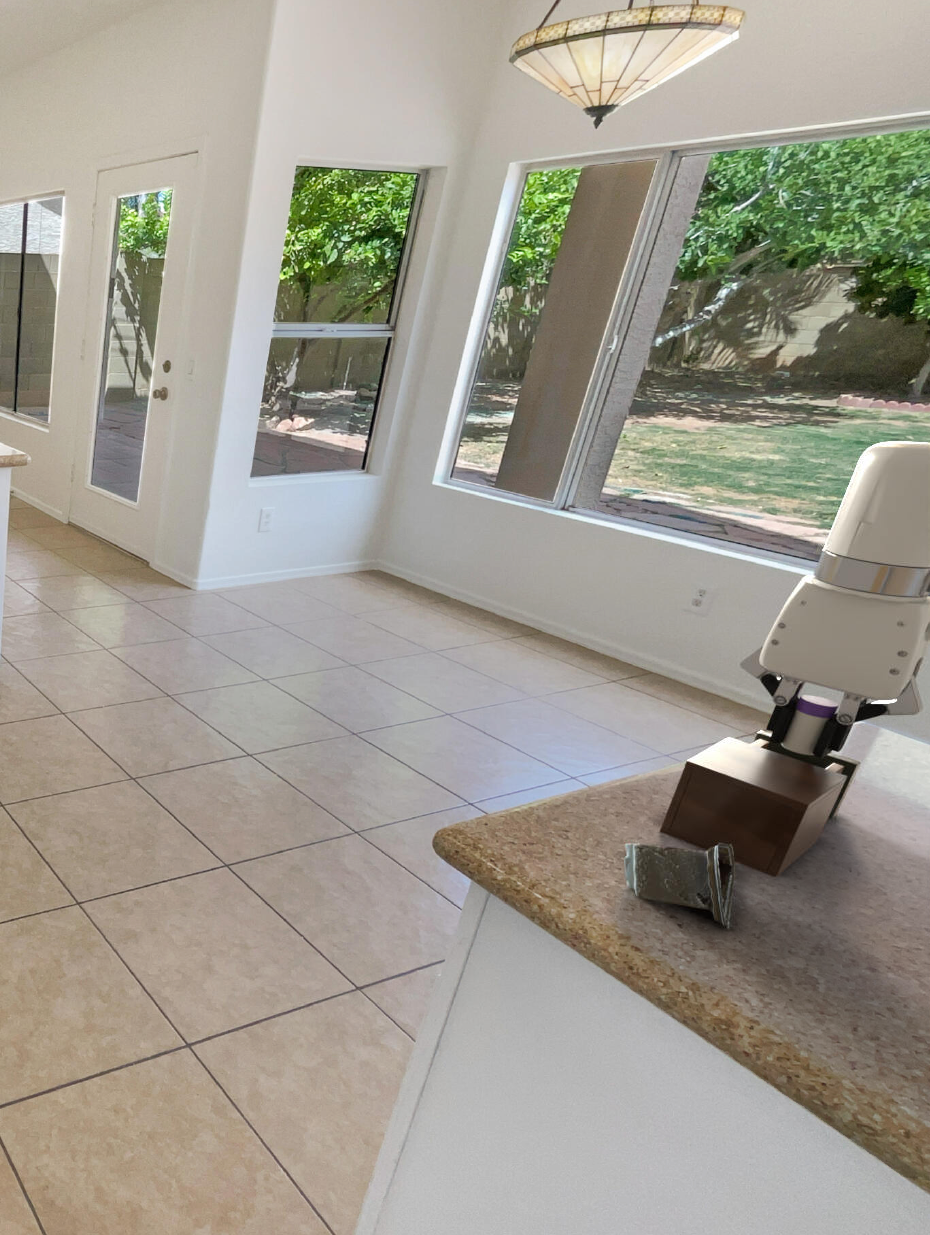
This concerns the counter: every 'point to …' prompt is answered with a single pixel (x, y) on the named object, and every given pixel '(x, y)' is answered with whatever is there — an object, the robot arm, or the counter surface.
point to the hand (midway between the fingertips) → (800, 745)
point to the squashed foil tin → (683, 876)
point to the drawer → (816, 764)
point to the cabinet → (752, 804)
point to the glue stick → (808, 723)
